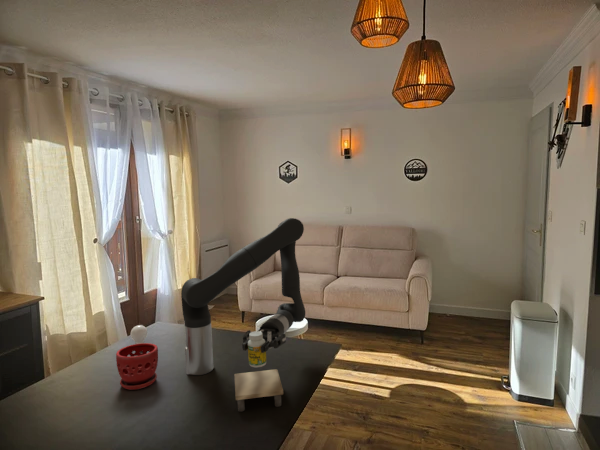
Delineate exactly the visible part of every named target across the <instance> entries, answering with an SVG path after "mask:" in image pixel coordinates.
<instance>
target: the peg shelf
mask: <svg viewBox="0 0 600 450" xmlns="http://www.w3.org/2000/svg"><path fill="white" fill-rule="evenodd" d="M234 391H235V392H234V393H235V401H237V411H238V412H244V411H245V410H246V407H245V400H248V399H250V400H251V399H256V398H263V397H264V398H265V397H273V398H274V406H275V407H276V408H279V407H281V406H282V396H283V395H284V389H283V385H282V382H281V378H280V374H279V370H278V369H274V368H273V369H267V370H257V371H249V372H240V373H234Z"/></svg>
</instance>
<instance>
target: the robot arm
mask: <svg viewBox="0 0 600 450" xmlns="http://www.w3.org/2000/svg"><path fill="white" fill-rule="evenodd" d="M304 230H305V227H304V224H303V222H302V221H301V220H300V219H298V218H294V217H293V218H292V217H289V218H286V219H284V220H283V221H281V222H280V223H278V225H277V227H275V229H273V230H272V231H271V232H269V233H267V234H266V235H264V236H262V237H260V238H259V239H256V240H254V241H252V242H250V243H248V244H247V245H245V246H243V247H242V248H240V249H238V250H236V252H234V253H233V254H231V255H230V256H229V257H228V258H227V259H226V260H225V262H223V264H221V266H220V267H219V268H218V270H216V271H214V272H213V273H211V274H210V275H209V276H206V277H204V278H202V279H200V278H198V277H197V278H196V277H192V278H190V279H188V280H186V281H185V282H184V283H183V284H182V287H181V292H180V293H181V296H180V297H181V308H182V317H183V322H184V334H185V335H184V336H185V351H184V352H185V353H184V354H185V367H186V368H185V369H186V370H185V371H186V375H191V376H202V375H206V374H209V373H211V372H212V371H213V369H214V355H213V352H214V351H213V335H212V334H213V332H212V318H211V317H212V316H211V313H210V309H209V303H211V301H213V300H214V299H215V298H216V297H217V296H218V295H220V294H221V293H222V292H224V291H225V290H226V289H227V288H228V287H230V286H232V285H234V284H235V283H236V282H238V281H239V280H241V279H242V278H244V277H246V276H247V275H249V274H250V273H252V272H253V271H254V270H256V269H257V268H259V267H260V266H261V265H263V264H264V263H265V262H267V260H269V259H271V257H272V256H274V255H275V254H276V253H277V252H279V255H280V266H281V268H280V269H281V295H282V296H283V297H285V298H290V299H292V301H293V303H291V302H290V303H282V304H280V305H279V306H278V307H277V310H276V313H275V314H274V315H271V317H269V318H268V319H267V320H266V321H264V322H263V323H262V324H261V325H260V327H259V329H258V330H257V331H260V332H262V334H263V339H264V340H265V343H264V344H263V345H262V346H261V353H264V352H266V353H267V351H268V350H270V349H278V348H279V347H281V346H282V345H284V344H285V343H286V342H287V336H286V333H287V331H288V330H289V329H290V328H291V327H292V325H293V324H294V323H301V322H303V321H304V320H305V317H306V308H305V305H304V302H303V297H302V294H301V283H300V282H301V280H300V277H301V276H300V270H299V266H298V262H297V258H296V257H297V256H296V242H297V241H298V240H299V239H301V237H302V236H303V234H304ZM251 332H252V331H251V329H249V330H247V331H246V332H245V333H244V334H243V336H242V344H241V345H242V346H241V347H242V351H244V352H245V351H248V341H249V340H250V338H249V334H250V333H251Z"/></svg>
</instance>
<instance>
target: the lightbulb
mask: <svg viewBox="0 0 600 450" xmlns="http://www.w3.org/2000/svg"><path fill="white" fill-rule="evenodd" d="M147 336H148V329H147V327H146V326H144V325H143V324H138V325H135V326H133V328H131V331H130V338H131V339H132V340H133V341H134V343H135V344H141V343H145V340H146V338H147ZM140 353H143V351H141V352H140Z"/></svg>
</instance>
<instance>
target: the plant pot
mask: <svg viewBox="0 0 600 450" xmlns="http://www.w3.org/2000/svg"><path fill="white" fill-rule="evenodd" d="M141 351H142V352H141ZM115 355H116V356H115V358H116V360H115V361H116V368H117V372H118V375H119V377H120V381H119V383H120V386H121V387H123V389H126V390H131V391H132V390H136V391H137V390H141V389H143V388H148V387H149V386H151V385H153V384H154V382H155V381H156V380H157V377H158V375H157V373H156V371H157V368H158V364H159V363H158V361H159V349H158V346H157V344H154V343H150V342H148V343H147V342H146V343H145V342H144V343H141V344H130V345H127V346H125V347H122V348H120V349H118V350H117V352H116V353H115Z"/></svg>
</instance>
